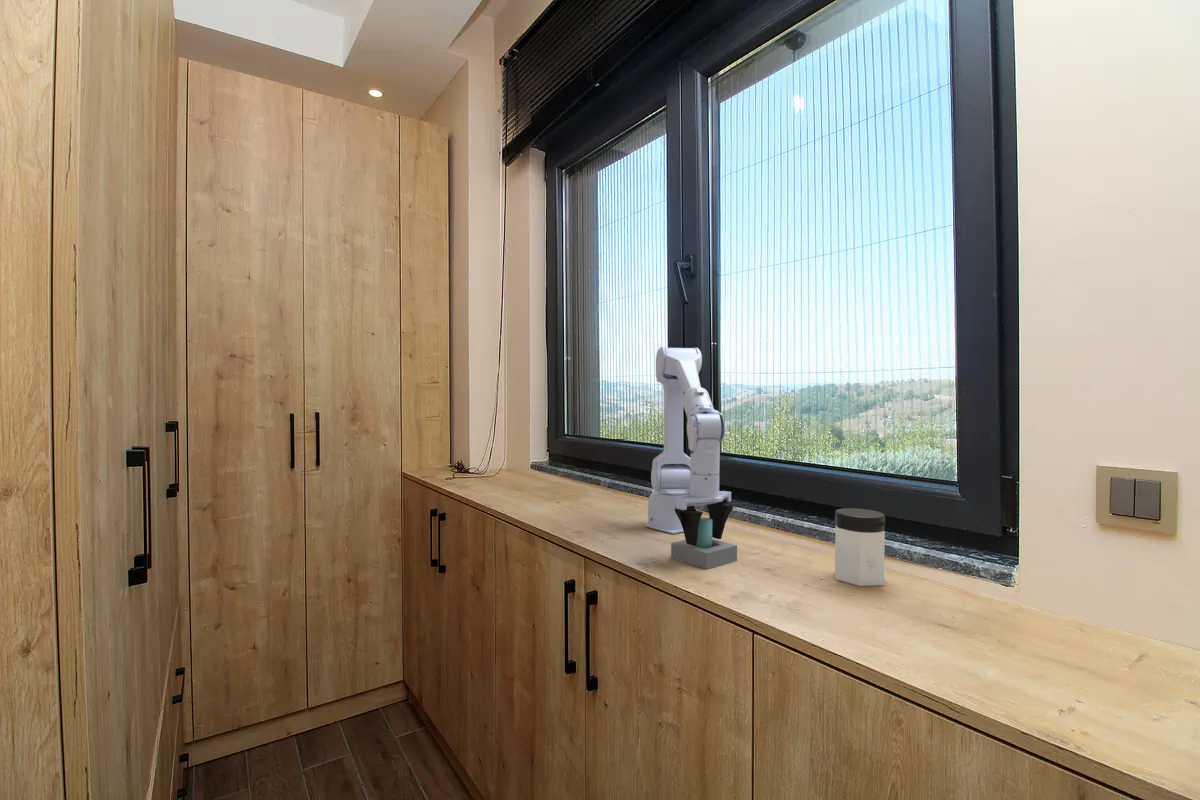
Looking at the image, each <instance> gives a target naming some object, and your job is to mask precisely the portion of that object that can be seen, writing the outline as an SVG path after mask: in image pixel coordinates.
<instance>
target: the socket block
mask: <svg viewBox="0 0 1200 800" xmlns="http://www.w3.org/2000/svg"><path fill="white" fill-rule="evenodd" d="M670 544H671V545H670V559H673V560H677V561H680V562H683V563H686V564H689V565H692V566H696V567H698V568H702V569H705V570H708V569H712V568H715V567H719V566H722V565H727V564H729V563H732V562H737V561H738V545H737V544H733V543H730V542H725V541H723V540H720V539H716V538H712V547H711V548H707V549H704V548H701V547H697V546H696V545H690V544H686V539H683V540H679V541H678V540H677V541H673V542H671V543H670Z"/></svg>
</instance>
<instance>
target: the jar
mask: <svg viewBox="0 0 1200 800" xmlns="http://www.w3.org/2000/svg"><path fill="white" fill-rule="evenodd" d="M834 512H835V513H834V515H835V517H834V525H835V540H834V541H835V542H834V543H835V544H834V545H835V548H834V549H835V551H834V553H835V554H834V578H835V580H836V581H840V582H843V583H846V584H850V585H854V586H856V587H877V586H878V587H879V586H880V587H882V586H884V584H885V544H886V543H885V542H886V541H885V540H886V539H885V538H886V535H885V534H886V533H885V530H886V529H885V526H886V516H885V514H884V513H883V512H880V511H877V510H876V511H875V510H871V509H866V508H853V507H852V508H851V507H849V508H839V509H838V508H837V509H836V510H835V511H834Z"/></svg>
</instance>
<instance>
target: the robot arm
mask: <svg viewBox="0 0 1200 800" xmlns="http://www.w3.org/2000/svg"><path fill="white" fill-rule="evenodd" d="M702 363H703V356H702V352H701V350H700V349H699V347H664V346H661V347H659V348H658V349H657V351H656V357H655V377H656V382H658V383H659V384H661V385H662V390H663V451H662V452H661V453H659V454H658V455H657V456H655V457H654V458H653V460H652V463H651V466H652V467H651V473H650V481H651V487H652V489H653V491H652V492H651V493H650V495H649V497H648V501H647V515H648V516H647V523H646V524H645V527H647V528H651V529H654V530H658V531H661V532H665V533H668V534H673V535H674V534H678V533H679V534H680V533H683V534H684V538H685V539H684V540H686V544H690V545H696V544H697V538H698V527H699V522H700V519H701V518H702V516H703V513H704V512H703V511H700V510H697V509H696V507H701V506H706V508H707V512H708V515H709V517H708V518H710V519H712V539H715V540H721V539H722V537H723V534H724V529H725V526H726V523H727V520H728V518H729V515H730V514H731V513H732V511H733V509H734V503H731V502H732V491H726V490H720V463H721V462H720V460H721V459H720V455H721V454H720V453H721V449H720V448H721V442H722V441H723V440H724V437H725V434H726V433H725V430H726V426H725V419H724V415H723V414H722V413H721V412H719V410H716V409H715V407H714V405H713V402H712V400H711V397H710V395H709V392H708V391H707V389H706V388H704V387H701V386H702V385H701V382H700V376H699V375H700V374H699V373H700V371H701V369H702V367H703V366H702ZM684 412H685V415H686V417H687V422H686V433H687V434H686V435H687V439H688V440H687V441H688V446H687V447H688V449H689V450H690V456H688V455H687V454H686V453H685V452H684ZM672 464H673V465H672ZM729 502H730V503H729Z"/></svg>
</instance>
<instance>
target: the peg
mask: <svg viewBox="0 0 1200 800" xmlns="http://www.w3.org/2000/svg"><path fill="white" fill-rule="evenodd" d="M712 539H713V538H712V519H710V517H701V519H700V522H699V527H698V538H697V544H696V546H697V547H701V548H704V549H707V548H711V547H712Z"/></svg>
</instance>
